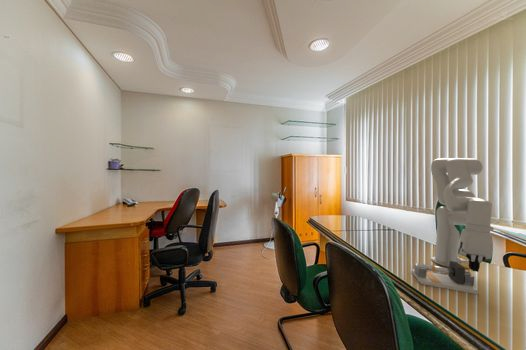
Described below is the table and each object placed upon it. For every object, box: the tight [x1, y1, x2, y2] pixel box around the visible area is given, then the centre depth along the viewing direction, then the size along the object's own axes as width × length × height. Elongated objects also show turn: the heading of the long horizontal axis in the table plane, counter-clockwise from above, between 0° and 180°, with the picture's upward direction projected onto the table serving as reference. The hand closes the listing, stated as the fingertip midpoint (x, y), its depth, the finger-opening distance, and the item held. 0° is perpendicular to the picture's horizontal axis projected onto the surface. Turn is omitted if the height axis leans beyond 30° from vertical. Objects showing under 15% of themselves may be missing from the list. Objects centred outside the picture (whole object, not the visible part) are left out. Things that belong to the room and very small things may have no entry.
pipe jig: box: [411, 262, 479, 295], centre depth 98 cm, size 20×12×7 cm, turn 73°
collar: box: [448, 261, 466, 285], centre depth 96 cm, size 2×7×7 cm, turn 163°
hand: (473, 270), depth 94 cm, fingers closed
